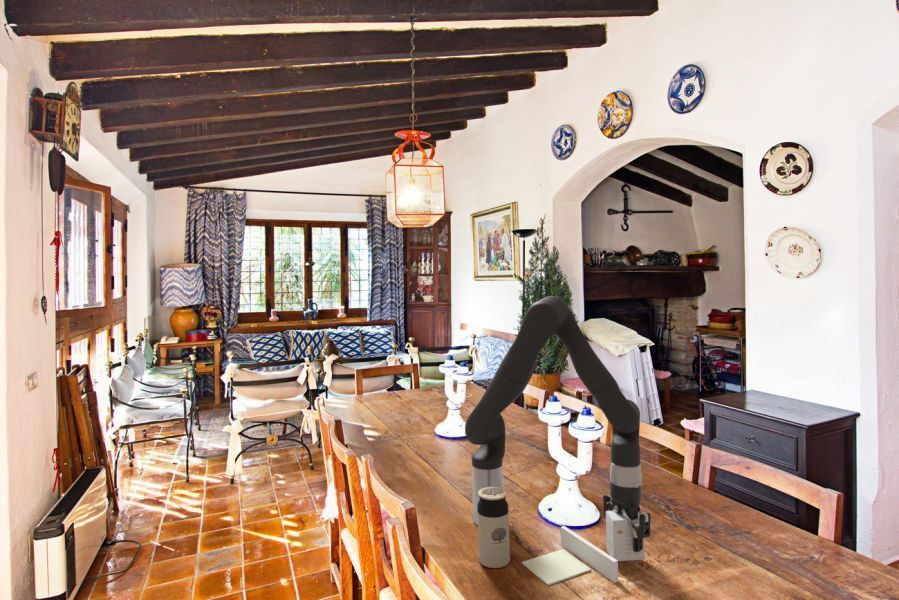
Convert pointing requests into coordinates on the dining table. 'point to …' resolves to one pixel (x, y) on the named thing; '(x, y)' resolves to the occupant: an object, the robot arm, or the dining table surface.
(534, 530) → the dining table surface
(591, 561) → the white wall
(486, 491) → the travel mug
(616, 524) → the small box
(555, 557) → the sage mat
